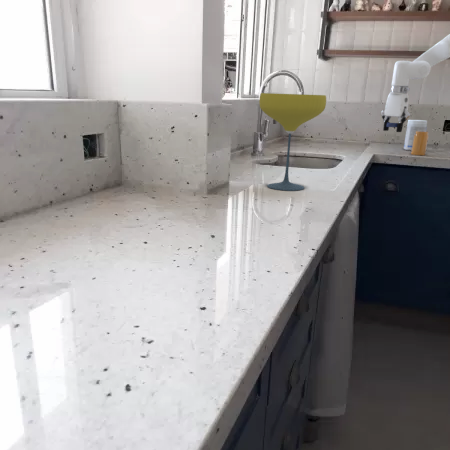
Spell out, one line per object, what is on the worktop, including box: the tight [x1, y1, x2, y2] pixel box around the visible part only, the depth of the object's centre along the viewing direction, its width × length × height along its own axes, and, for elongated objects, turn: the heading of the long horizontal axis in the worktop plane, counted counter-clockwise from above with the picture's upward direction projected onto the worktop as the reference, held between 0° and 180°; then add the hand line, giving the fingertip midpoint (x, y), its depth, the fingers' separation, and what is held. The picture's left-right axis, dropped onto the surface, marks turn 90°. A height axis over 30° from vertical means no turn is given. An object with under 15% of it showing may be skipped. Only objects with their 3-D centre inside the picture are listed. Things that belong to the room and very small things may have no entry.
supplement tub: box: [403, 119, 428, 151], centre depth 250 cm, size 10×10×15 cm
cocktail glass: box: [258, 92, 327, 192], centre depth 136 cm, size 18×18×25 cm
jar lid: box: [386, 122, 399, 128], centre depth 229 cm, size 7×7×2 cm
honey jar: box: [410, 130, 430, 156], centre depth 232 cm, size 6×6×11 cm
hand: (392, 130), depth 230 cm, fingers closed on jar lid, 6 cm apart
